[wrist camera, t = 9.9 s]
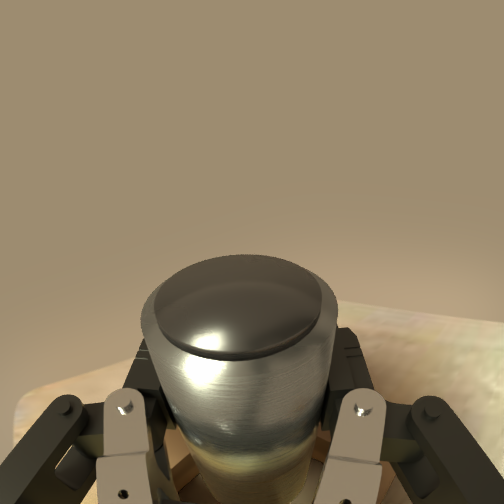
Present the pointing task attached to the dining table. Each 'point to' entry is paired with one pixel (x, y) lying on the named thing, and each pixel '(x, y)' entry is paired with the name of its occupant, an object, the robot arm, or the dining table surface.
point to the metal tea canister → (244, 370)
